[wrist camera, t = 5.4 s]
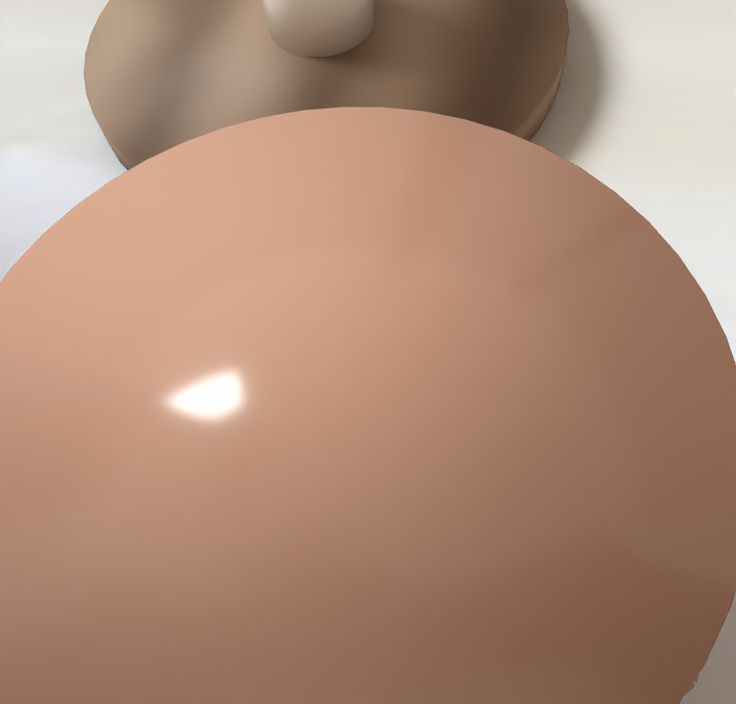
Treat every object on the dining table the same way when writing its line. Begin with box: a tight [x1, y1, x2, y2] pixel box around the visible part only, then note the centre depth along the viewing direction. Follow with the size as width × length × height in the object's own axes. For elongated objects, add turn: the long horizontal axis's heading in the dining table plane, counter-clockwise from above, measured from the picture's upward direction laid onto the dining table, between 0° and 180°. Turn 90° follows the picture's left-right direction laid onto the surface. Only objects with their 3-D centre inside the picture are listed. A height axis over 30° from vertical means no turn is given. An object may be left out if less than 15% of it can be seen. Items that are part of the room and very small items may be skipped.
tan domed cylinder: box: [0, 107, 736, 704], centre depth 14 cm, size 11×11×11 cm
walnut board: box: [84, 0, 569, 170], centre depth 29 cm, size 20×20×2 cm
